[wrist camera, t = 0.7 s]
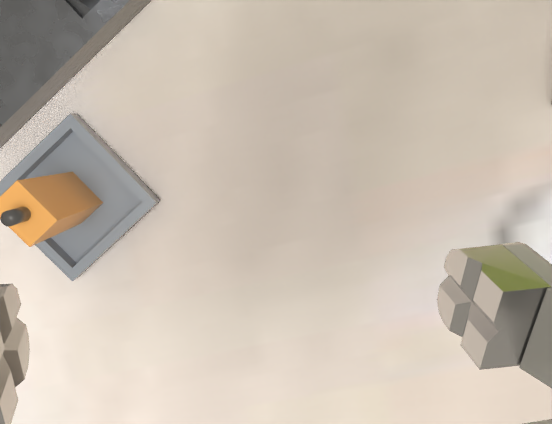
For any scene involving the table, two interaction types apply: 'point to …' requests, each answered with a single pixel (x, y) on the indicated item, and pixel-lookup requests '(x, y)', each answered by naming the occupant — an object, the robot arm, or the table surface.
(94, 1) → the twin plug
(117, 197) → the tray
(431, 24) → the table surface
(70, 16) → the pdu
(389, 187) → the table surface
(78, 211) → the plug
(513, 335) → the robot arm
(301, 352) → the table surface
